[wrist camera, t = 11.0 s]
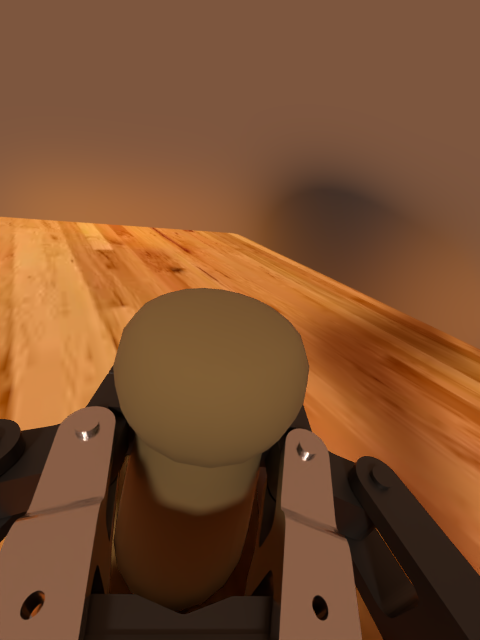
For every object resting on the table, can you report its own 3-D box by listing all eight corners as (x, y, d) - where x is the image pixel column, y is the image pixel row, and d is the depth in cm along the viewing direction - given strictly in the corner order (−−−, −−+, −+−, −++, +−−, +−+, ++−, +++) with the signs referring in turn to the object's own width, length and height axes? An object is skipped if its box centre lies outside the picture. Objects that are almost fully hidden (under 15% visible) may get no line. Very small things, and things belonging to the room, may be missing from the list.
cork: (273, 527, 12) (385, 343, 6) (151, 672, 8) (179, 503, 2) (202, 432, 15) (237, 263, 10) (94, 497, 11) (55, 273, 6)
